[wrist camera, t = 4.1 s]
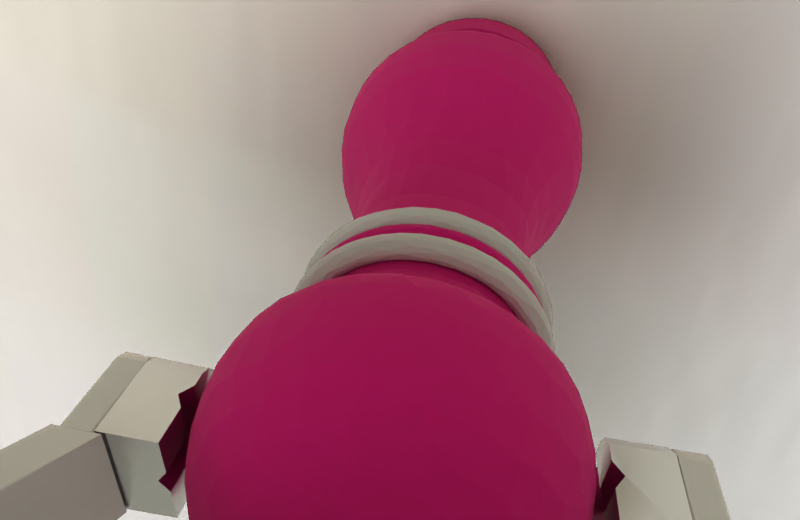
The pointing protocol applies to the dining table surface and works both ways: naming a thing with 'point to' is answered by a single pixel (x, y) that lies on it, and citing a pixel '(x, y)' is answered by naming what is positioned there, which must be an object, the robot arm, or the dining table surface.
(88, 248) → the dining table surface
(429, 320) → the pepper mill
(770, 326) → the dining table surface
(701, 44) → the dining table surface
